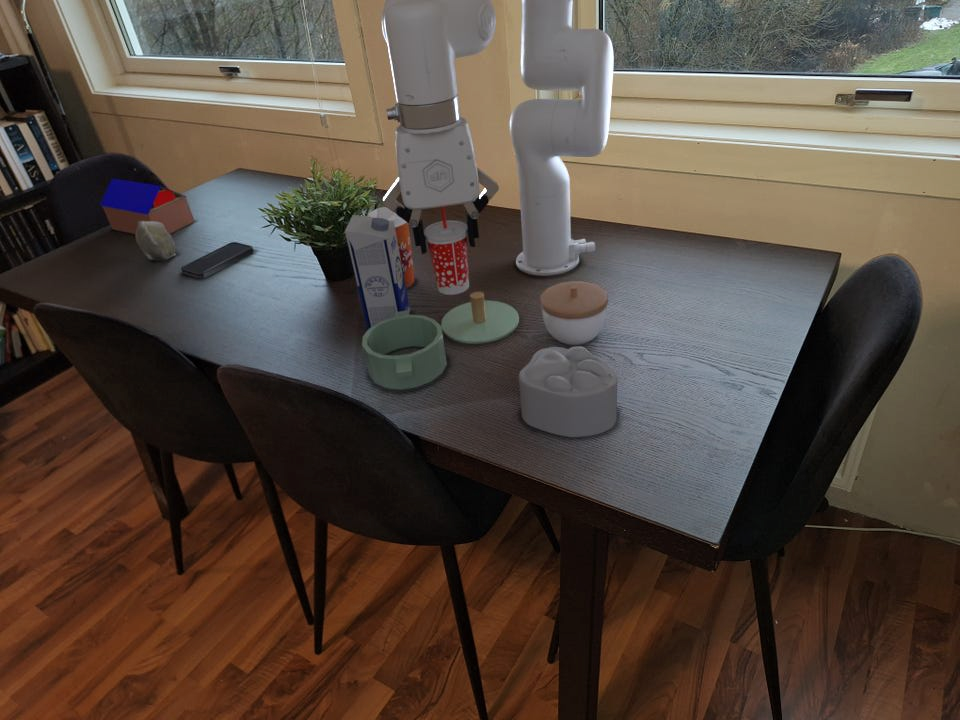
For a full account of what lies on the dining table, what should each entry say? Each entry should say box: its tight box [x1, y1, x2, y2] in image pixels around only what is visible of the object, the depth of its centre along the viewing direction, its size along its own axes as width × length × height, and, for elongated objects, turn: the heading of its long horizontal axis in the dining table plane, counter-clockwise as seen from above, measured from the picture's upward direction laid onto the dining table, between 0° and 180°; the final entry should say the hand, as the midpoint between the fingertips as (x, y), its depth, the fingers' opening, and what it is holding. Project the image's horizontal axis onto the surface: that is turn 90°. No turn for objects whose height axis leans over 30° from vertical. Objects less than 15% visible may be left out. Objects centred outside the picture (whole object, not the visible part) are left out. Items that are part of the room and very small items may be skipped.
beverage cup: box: [424, 206, 470, 296], centre depth 91 cm, size 6×6×14 cm
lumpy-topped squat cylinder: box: [518, 345, 618, 438], centre depth 91 cm, size 10×13×9 cm
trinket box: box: [540, 280, 609, 346], centre depth 107 cm, size 11×11×9 cm
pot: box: [361, 310, 448, 390], centre depth 105 cm, size 13×18×6 cm
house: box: [99, 178, 196, 235], centre depth 169 cm, size 12×20×12 cm, turn 59°
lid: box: [440, 291, 520, 345], centre depth 114 cm, size 14×14×6 cm
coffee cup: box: [367, 206, 415, 288], centre depth 127 cm, size 8×8×15 cm
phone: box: [180, 241, 254, 279], centre depth 148 cm, size 8×1×15 cm
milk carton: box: [344, 214, 411, 330], centre depth 113 cm, size 7×7×20 cm
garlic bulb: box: [134, 221, 177, 262], centre depth 152 cm, size 9×8×10 cm
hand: (447, 245), depth 91 cm, fingers closed on beverage cup, 6 cm apart
